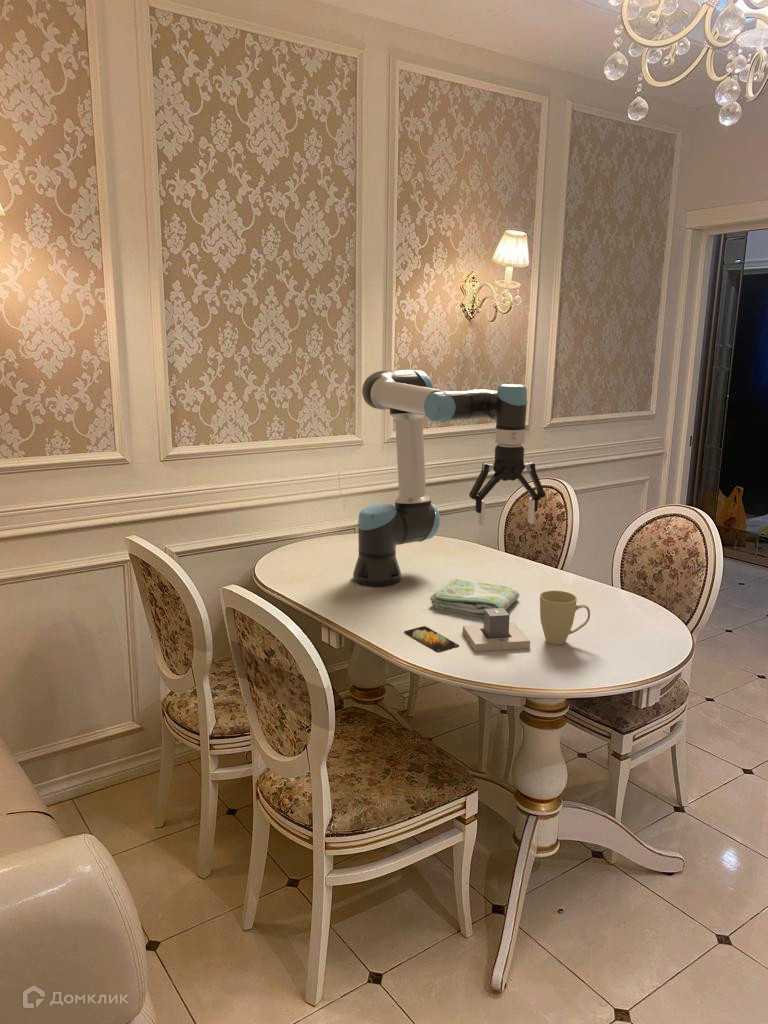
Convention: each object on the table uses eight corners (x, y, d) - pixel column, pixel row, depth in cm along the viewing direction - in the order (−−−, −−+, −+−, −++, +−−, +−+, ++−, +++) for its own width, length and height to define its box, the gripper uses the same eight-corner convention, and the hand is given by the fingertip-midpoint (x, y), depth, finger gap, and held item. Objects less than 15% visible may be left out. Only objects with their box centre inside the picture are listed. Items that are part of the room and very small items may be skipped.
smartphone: (437, 652, 182) (403, 631, 194) (437, 654, 182) (402, 633, 194) (460, 645, 185) (425, 625, 198) (460, 648, 186) (425, 627, 198)
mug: (553, 652, 182) (556, 606, 179) (530, 637, 191) (532, 593, 188) (589, 645, 186) (593, 600, 183) (565, 630, 195) (568, 587, 192)
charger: (483, 636, 191) (484, 608, 189) (501, 635, 192) (503, 607, 190) (489, 644, 186) (490, 615, 184) (508, 642, 187) (509, 614, 185)
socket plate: (462, 632, 194) (462, 624, 193) (514, 629, 196) (514, 621, 195) (475, 651, 182) (475, 643, 182) (529, 648, 184) (530, 640, 184)
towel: (452, 589, 227) (452, 573, 226) (519, 601, 218) (520, 584, 216) (428, 609, 211) (428, 592, 210) (500, 622, 202) (500, 604, 201)
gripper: (466, 447, 188) (463, 528, 193) (561, 446, 192) (555, 525, 197) (459, 443, 195) (457, 521, 201) (550, 441, 199) (545, 518, 204)
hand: (505, 523), depth 199 cm, fingers open, 13 cm apart
